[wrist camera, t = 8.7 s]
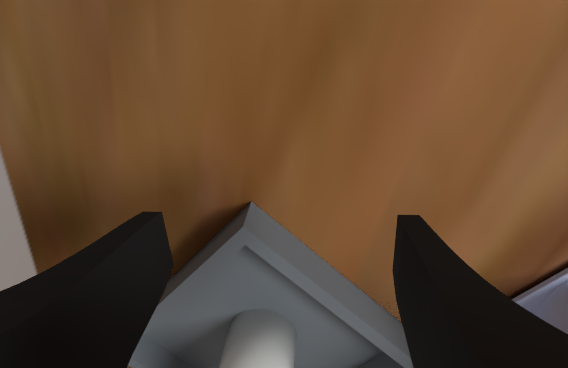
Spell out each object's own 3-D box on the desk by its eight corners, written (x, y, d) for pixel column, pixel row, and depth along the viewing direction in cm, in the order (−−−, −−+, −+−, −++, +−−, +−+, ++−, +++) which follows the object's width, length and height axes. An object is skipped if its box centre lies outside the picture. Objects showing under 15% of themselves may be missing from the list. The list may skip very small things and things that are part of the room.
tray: (416, 335, 27) (424, 369, 25) (273, 419, 33) (269, 452, 31) (251, 201, 23) (242, 226, 21) (123, 322, 29) (106, 352, 27)
